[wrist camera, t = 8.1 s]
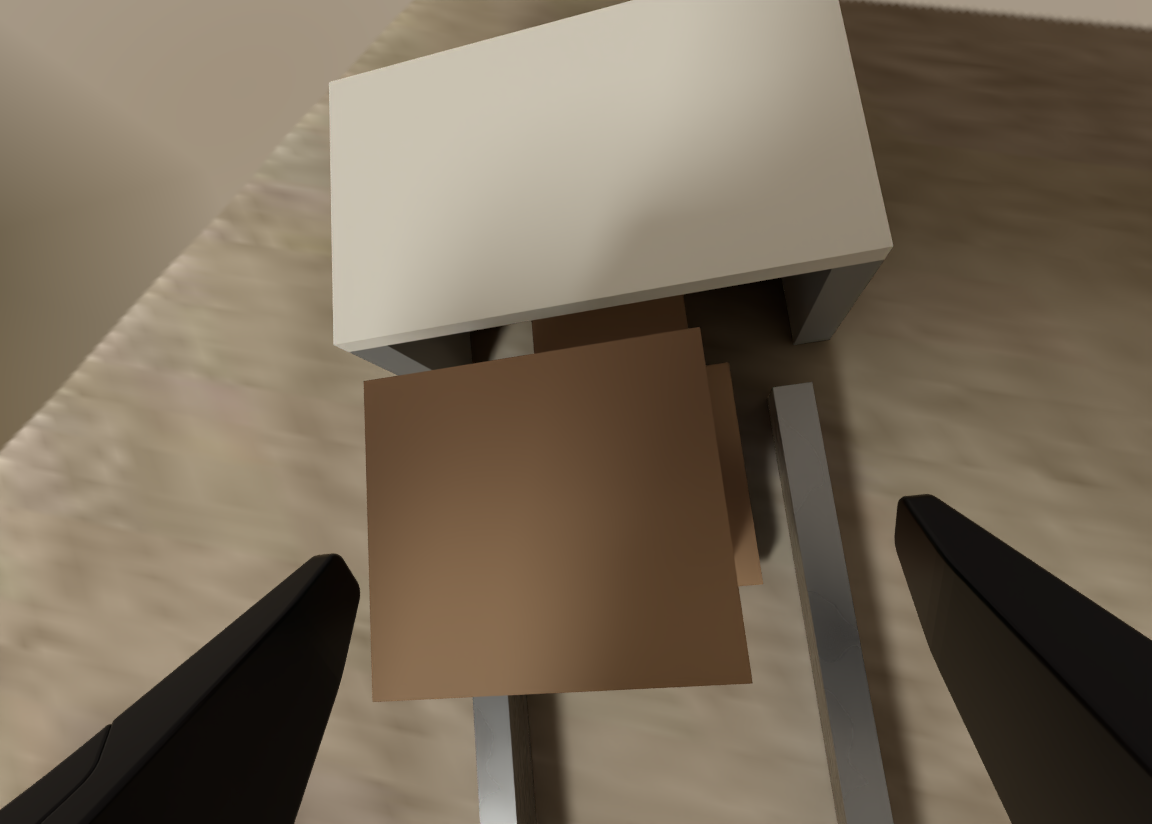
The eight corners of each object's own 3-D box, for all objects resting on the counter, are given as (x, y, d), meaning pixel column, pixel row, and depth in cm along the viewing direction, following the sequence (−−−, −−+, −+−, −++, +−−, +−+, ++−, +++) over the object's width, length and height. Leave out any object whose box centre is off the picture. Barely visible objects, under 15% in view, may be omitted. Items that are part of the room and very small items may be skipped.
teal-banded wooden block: (760, 581, 16) (868, 701, 5) (546, 598, 17) (290, 725, 7) (720, 319, 18) (742, 13, 7) (525, 351, 19) (290, 129, 8)
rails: (920, 1053, 14) (948, 1118, 12) (516, 1028, 16) (495, 1082, 14) (802, 394, 17) (812, 381, 16) (477, 438, 19) (457, 431, 17)
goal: (829, 339, 17) (892, 246, 11) (445, 397, 19) (333, 345, 14) (788, 128, 19) (826, -53, 13) (434, 205, 21) (329, 81, 15)
